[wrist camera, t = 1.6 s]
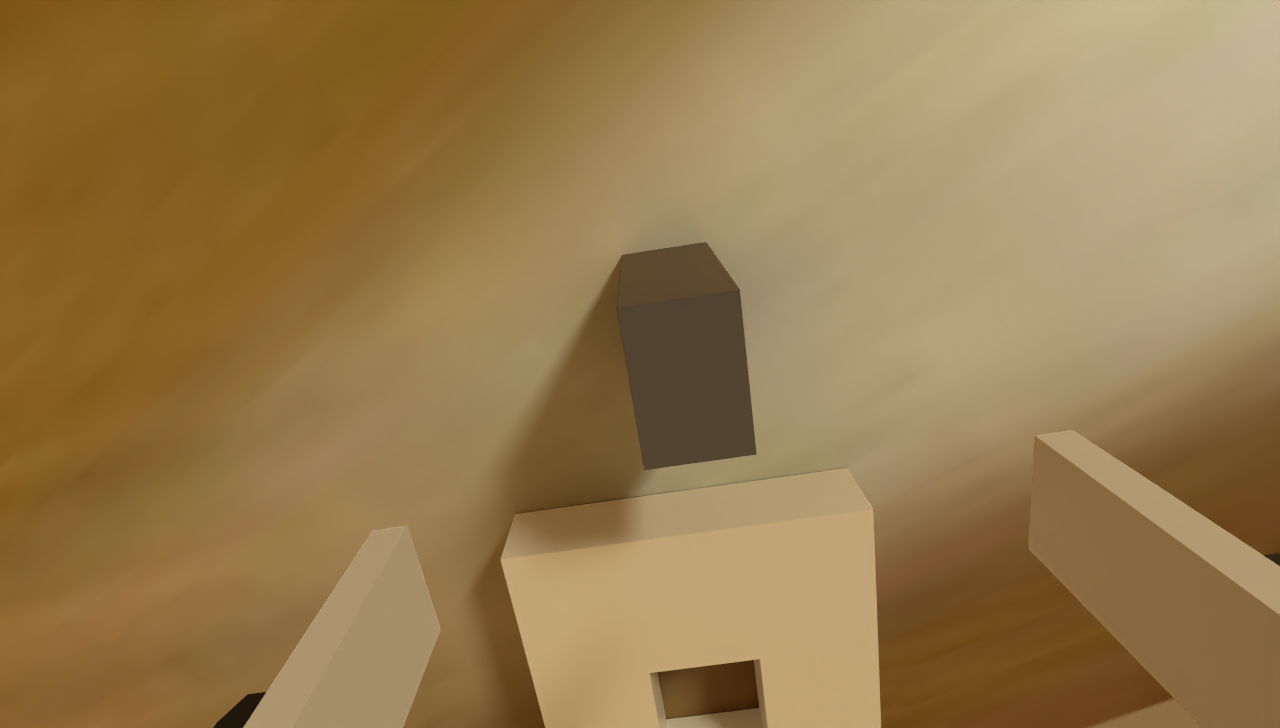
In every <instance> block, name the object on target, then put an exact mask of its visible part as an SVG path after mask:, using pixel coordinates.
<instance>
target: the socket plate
mask: <svg viewBox="0 0 1280 728" xmlns="http://www.w3.org/2000/svg"><path fill="white" fill-rule="evenodd" d="M501 564H502V567H503V571H504V575H505V579H506V582H507V586H508V590H509V593H510V597H511V601H512V605H513V608H514V612H515V616H516V620H517V623H518V627H519V631H520V635H521V638H522V642H523V646H524V650H525V653H526V657H527V661H528V665H529V668H530V672H531V676H532V680H533V683H534V687H535V691H536V694H537V698H538V702H539V706H540V709H541V713H542V717H543V721H544V724H545V728H881V713H880V685H879V657H878V629H877V601H876V573H875V544H874V516H873V508H872V506H871V505H870V503H869V502H868V500H867V499H866V497H865V496H864V494H863V493H862V491H861V489H860V488H859V486H858V485H857V483H856V482H855V480H854V479H853V477H852V476H851V474H850V472H849V471H848V469H847V468H844V469H836V470H829V471H822V472H815V473H808V474H800V475H793V476H786V477H779V478H771V479H764V480H757V481H750V482H743V483H735V484H728V485H721V486H714V487H707V488H699V489H692V490H685V491H678V492H670V493H663V494H656V495H649V496H642V497H634V498H627V499H620V500H613V501H605V502H598V503H591V504H584V505H577V506H569V507H562V508H555V509H548V510H540V511H533V512H526V513H519V514H515V515H514V518H513V521H512V525H511V528H510V531H509V534H508V537H507V541H506V544H505V547H504V550H503V553H502V556H501ZM749 660H753V661H754V669H755V678H756V686H757V694H758V703H759V708H755V709H747V710H738V711H730V712H722V713H714V714H706V715H698V716H690V717H682V718H674V719H666V716H665V711H664V705H663V700H662V694H661V689H660V683H659V678H658V672H662V671H670V670H678V669H686V668H693V667H701V666H709V665H717V664H725V663H733V662H741V661H749Z"/></svg>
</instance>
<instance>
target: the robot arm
mask: <svg viewBox="0 0 1280 728" xmlns="http://www.w3.org/2000/svg"><path fill="white" fill-rule="evenodd" d="M1028 549H1029V550H1030V551H1031V552H1032V553H1033V554H1034V555H1035V556H1036V557H1037V558H1038V559H1039V560H1040V561H1041V562H1042V563H1043V564H1044V565H1045V566H1046V567H1047V568H1048V569H1049V570H1050V571H1051V572H1052V573H1053V574H1054V575H1055V577H1056V578H1057V579H1058V580H1059V581H1060V582H1061V583H1062V584H1063V585H1064V586H1065V587H1066V588H1067V589H1068V590H1069V591H1070V592H1071V593H1072V594H1073V595H1074V596H1075V597H1076V598H1077V599H1078V600H1079V601H1080V602H1081V603H1082V604H1083V605H1084V606H1085V607H1086V608H1087V609H1088V610H1089V611H1090V612H1091V613H1092V615H1093V616H1094V617H1095V618H1096V619H1097V620H1098V621H1099V622H1100V623H1101V624H1102V625H1103V626H1104V627H1105V628H1106V629H1107V630H1108V631H1109V632H1110V633H1111V634H1112V635H1113V636H1114V637H1115V638H1116V639H1117V640H1118V641H1119V642H1120V643H1121V644H1122V645H1123V646H1124V647H1125V648H1126V649H1127V650H1128V652H1129V653H1130V654H1131V655H1132V656H1133V657H1134V658H1135V659H1136V660H1137V661H1138V662H1139V663H1140V664H1141V665H1142V666H1143V667H1144V668H1145V669H1146V670H1147V671H1148V672H1149V673H1150V674H1151V675H1152V676H1153V677H1154V678H1155V679H1156V680H1157V681H1158V682H1159V683H1160V684H1161V685H1162V686H1163V687H1164V689H1165V690H1166V691H1167V692H1168V693H1169V694H1170V695H1171V696H1172V697H1173V698H1174V699H1175V700H1176V701H1177V702H1178V703H1179V704H1180V705H1181V706H1182V707H1183V708H1184V709H1185V710H1186V711H1187V712H1188V713H1189V714H1190V715H1191V716H1192V717H1193V718H1194V719H1195V720H1196V721H1197V722H1198V723H1199V724H1200V725H1201V726H1202V727H1203V728H1280V554H1279V553H1276V554H1269V555H1262V554H1260V553H1259V552H1257V551H1256V550H1254V549H1253V548H1251V547H1250V546H1248V545H1247V544H1245V543H1244V542H1242V541H1241V540H1239V539H1238V538H1236V537H1235V536H1233V535H1232V534H1230V533H1228V532H1227V531H1225V530H1224V529H1222V528H1221V527H1219V526H1218V525H1216V524H1215V523H1213V522H1212V521H1210V520H1209V519H1207V518H1206V517H1204V516H1203V515H1201V514H1200V513H1198V512H1197V511H1195V510H1194V509H1192V508H1190V507H1189V506H1187V505H1186V504H1184V503H1183V502H1181V501H1180V500H1178V499H1177V498H1175V497H1174V496H1172V495H1171V494H1169V493H1168V492H1166V491H1165V490H1163V489H1162V488H1160V487H1159V486H1157V485H1156V484H1154V483H1152V482H1151V481H1149V480H1148V479H1146V478H1145V477H1143V476H1142V475H1140V474H1139V473H1137V472H1136V471H1134V470H1133V469H1131V468H1130V467H1128V466H1127V465H1125V464H1124V463H1122V462H1121V461H1119V460H1118V459H1116V458H1114V457H1113V456H1111V455H1110V454H1108V453H1107V452H1105V451H1104V450H1102V449H1101V448H1099V447H1098V446H1096V445H1095V444H1093V443H1092V442H1090V441H1089V440H1087V439H1086V438H1084V437H1083V436H1081V435H1079V434H1078V433H1076V432H1075V431H1073V430H1070V431H1063V432H1056V433H1049V434H1042V435H1035V442H1034V459H1033V476H1032V493H1031V510H1030V527H1029V544H1028ZM440 630H441V628H440V625H439V622H438V619H437V616H436V613H435V610H434V607H433V604H432V600H431V597H430V594H429V591H428V588H427V585H426V582H425V579H424V576H423V572H422V569H421V566H420V563H419V560H418V557H417V554H416V551H415V547H414V544H413V541H412V538H411V535H410V532H409V529H408V526H400V527H393V528H386V529H379V530H372V531H371V533H370V535H369V536H368V538H367V539H366V541H365V542H364V544H363V545H362V547H361V548H360V550H359V551H358V553H357V554H356V556H355V557H354V559H353V561H352V562H351V564H350V565H349V567H348V568H347V570H346V571H345V573H344V574H343V576H342V577H341V579H340V580H339V582H338V583H337V585H336V587H335V588H334V590H333V591H332V593H331V594H330V596H329V597H328V599H327V600H326V602H325V603H324V605H323V606H322V608H321V610H320V611H319V613H318V614H317V616H316V617H315V619H314V620H313V622H312V623H311V625H310V626H309V628H308V629H307V631H306V632H305V634H304V636H303V637H302V639H301V640H300V642H299V643H298V645H297V646H296V648H295V649H294V651H293V652H292V654H291V655H290V657H289V658H288V660H287V662H286V663H285V665H284V666H283V668H282V669H281V671H280V672H279V674H278V675H277V677H276V678H275V680H274V681H273V683H272V684H271V686H270V688H269V689H268V691H267V692H262V693H255V694H248V695H247V696H245V697H244V698H243V699H242V700H241V701H240V702H239V703H238V704H237V705H236V706H235V707H233V708H232V709H231V710H230V711H229V712H228V713H227V714H226V715H225V716H224V717H223V718H222V719H220V720H219V721H218V722H217V723H216V725H215V726H214V728H403V726H404V724H405V721H406V718H407V716H408V713H409V711H410V708H411V705H412V703H413V700H414V698H415V695H416V692H417V690H418V687H419V684H420V682H421V679H422V677H423V674H424V671H425V669H426V666H427V664H428V661H429V658H430V656H431V653H432V650H433V648H434V645H435V643H436V640H437V637H438V635H439V632H440Z"/></svg>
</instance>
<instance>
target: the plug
mask: <svg viewBox="0 0 1280 728" xmlns="http://www.w3.org/2000/svg"><path fill="white" fill-rule="evenodd" d="M617 311H618V317H619V323H620V329H621V335H622V340H623V346H624V352H625V358H626V364H627V370H628V376H629V382H630V388H631V394H632V400H633V406H634V412H635V417H636V423H637V429H638V435H639V441H640V447H641V453H642V459H643V465H644V470H648V469H655V468H662V467H670V466H677V465H684V464H691V463H698V462H705V461H712V460H720V459H727V458H734V457H741V456H748V455H755V454H756V446H755V436H754V426H753V416H752V406H751V397H750V387H749V377H748V367H747V358H746V348H745V338H744V328H743V318H742V309H741V299H740V289H739V288H738V287H737V285H736V284H735V282H734V281H733V279H732V278H731V277H730V275H729V274H728V272H727V271H726V270H725V268H724V267H723V265H722V264H721V262H720V261H719V260H718V258H717V257H716V255H715V254H714V253H713V251H712V250H711V248H710V247H709V245H708V244H707V243H706V242H704V243H697V244H691V245H684V246H678V247H671V248H665V249H658V250H652V251H645V252H639V253H632V254H626V255H622V261H621V271H620V282H619V292H618V303H617Z"/></svg>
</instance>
